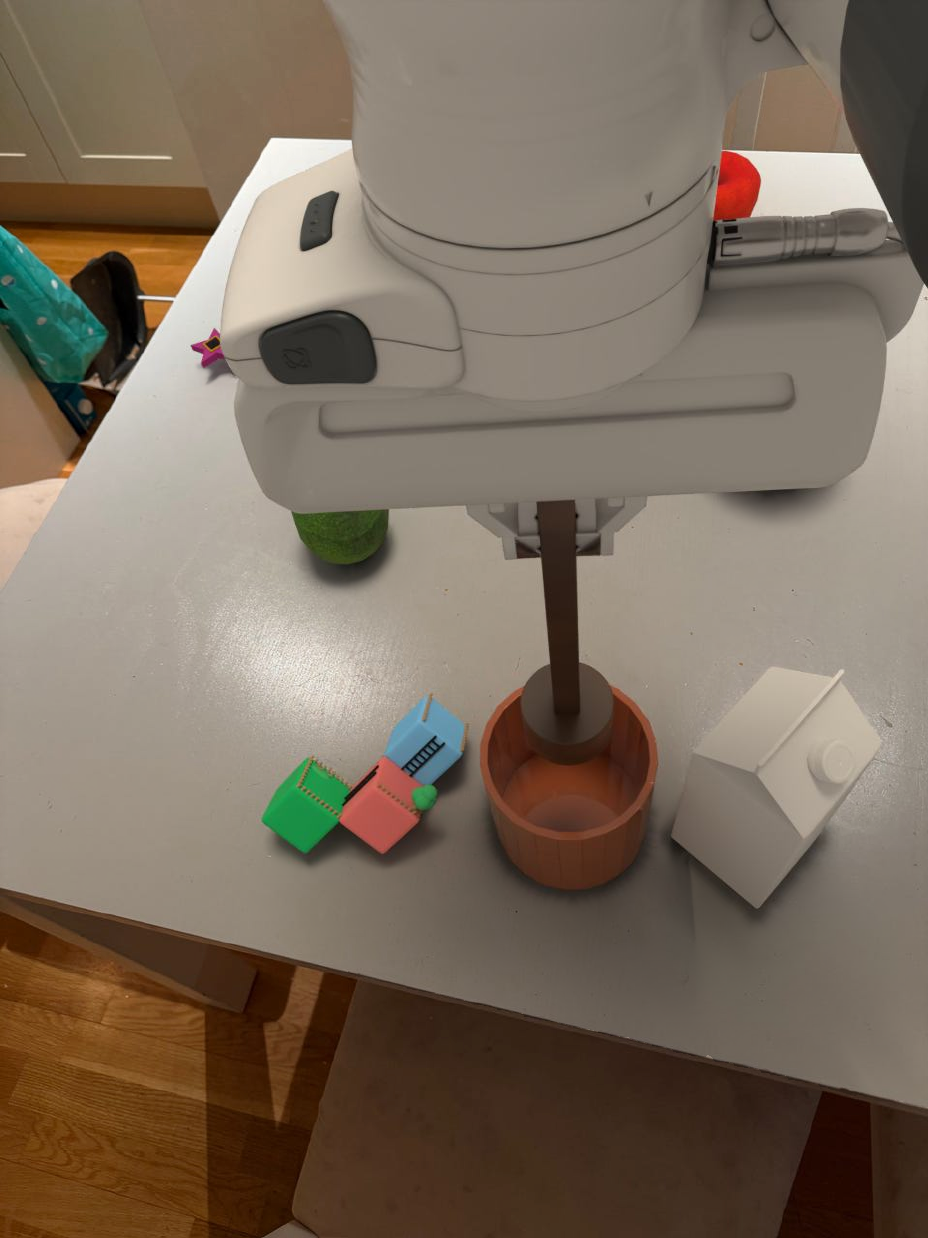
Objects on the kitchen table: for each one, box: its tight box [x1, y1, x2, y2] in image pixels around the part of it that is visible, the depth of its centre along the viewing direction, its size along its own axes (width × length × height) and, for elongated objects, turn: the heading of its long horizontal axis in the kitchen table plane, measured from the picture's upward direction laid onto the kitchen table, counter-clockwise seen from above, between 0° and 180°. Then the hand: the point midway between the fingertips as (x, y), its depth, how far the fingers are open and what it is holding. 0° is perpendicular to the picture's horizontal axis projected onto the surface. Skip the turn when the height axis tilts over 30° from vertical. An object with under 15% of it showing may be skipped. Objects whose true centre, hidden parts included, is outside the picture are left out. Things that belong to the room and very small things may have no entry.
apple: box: [713, 150, 762, 221], centre depth 89 cm, size 9×9×8 cm
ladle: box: [520, 500, 614, 766], centre depth 40 cm, size 5×5×23 cm
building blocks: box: [261, 692, 470, 855], centre depth 62 cm, size 8×8×12 cm
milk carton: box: [670, 666, 883, 910], centre depth 52 cm, size 7×7×19 cm
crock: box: [479, 684, 659, 891], centre depth 58 cm, size 11×11×11 cm
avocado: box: [290, 509, 390, 565], centre depth 72 cm, size 8×8×12 cm
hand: (557, 544), depth 35 cm, fingers closed on ladle
